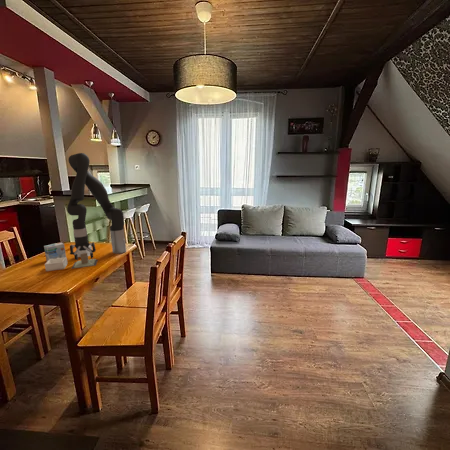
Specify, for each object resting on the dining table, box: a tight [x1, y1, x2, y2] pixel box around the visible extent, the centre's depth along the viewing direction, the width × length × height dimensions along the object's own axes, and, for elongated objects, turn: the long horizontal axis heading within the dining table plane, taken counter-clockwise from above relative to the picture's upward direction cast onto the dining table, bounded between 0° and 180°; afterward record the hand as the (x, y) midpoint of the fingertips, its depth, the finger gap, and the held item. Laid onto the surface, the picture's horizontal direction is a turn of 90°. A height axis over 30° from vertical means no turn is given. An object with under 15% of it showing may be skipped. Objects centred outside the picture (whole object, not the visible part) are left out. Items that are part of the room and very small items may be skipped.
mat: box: [70, 258, 99, 270], centre depth 166 cm, size 14×12×1 cm
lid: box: [73, 253, 97, 269], centre depth 165 cm, size 11×11×7 cm
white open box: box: [44, 256, 68, 272], centre depth 161 cm, size 10×10×5 cm
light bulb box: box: [43, 241, 67, 262], centre depth 176 cm, size 11×7×11 cm, turn 143°
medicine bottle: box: [75, 245, 93, 258], centre depth 181 cm, size 7×7×12 cm
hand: (84, 259), depth 165 cm, fingers open, 8 cm apart
